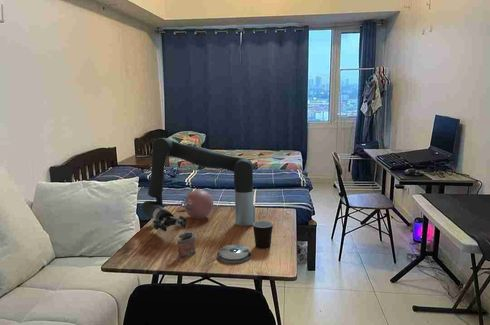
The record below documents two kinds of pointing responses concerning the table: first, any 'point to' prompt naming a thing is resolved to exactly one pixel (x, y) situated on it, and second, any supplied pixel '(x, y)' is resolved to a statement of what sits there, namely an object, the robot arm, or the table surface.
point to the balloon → (198, 204)
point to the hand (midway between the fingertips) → (175, 227)
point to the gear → (183, 199)
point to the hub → (233, 254)
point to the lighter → (186, 245)
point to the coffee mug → (262, 234)
